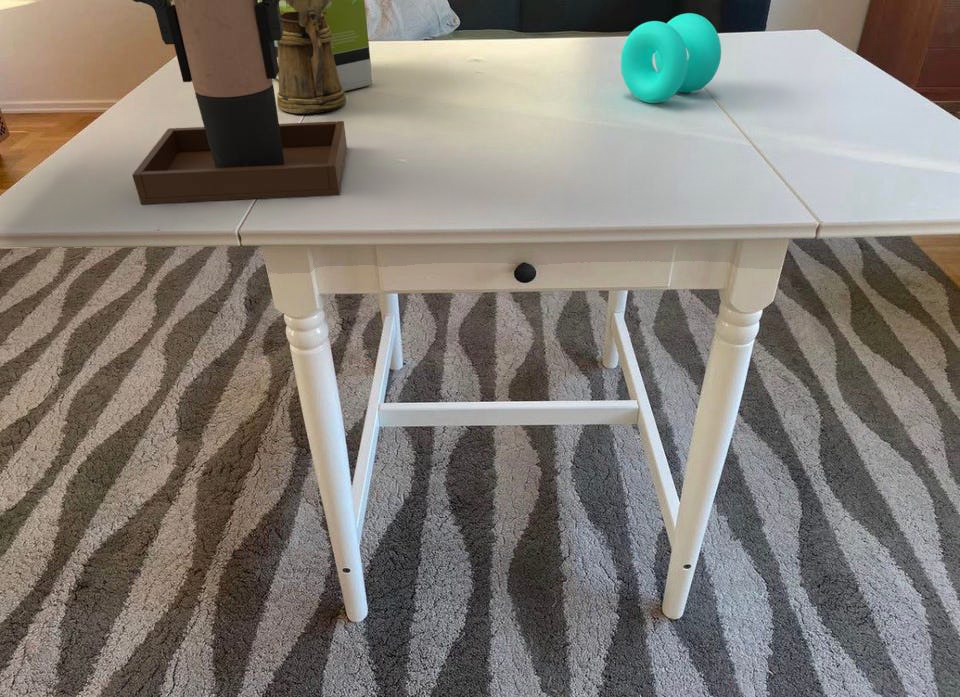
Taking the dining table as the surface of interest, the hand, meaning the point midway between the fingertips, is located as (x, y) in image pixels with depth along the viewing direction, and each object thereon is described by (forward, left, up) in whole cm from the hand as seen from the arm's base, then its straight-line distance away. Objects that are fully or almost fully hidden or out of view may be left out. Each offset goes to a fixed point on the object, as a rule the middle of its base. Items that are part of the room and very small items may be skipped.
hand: (232, 76), depth 72 cm
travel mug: (0, 0, -10) cm, 10 cm away
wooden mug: (+5, +22, -10) cm, 24 cm away
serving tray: (0, 0, -10) cm, 10 cm away
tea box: (+4, +35, -10) cm, 36 cm away
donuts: (+52, +21, -10) cm, 57 cm away
